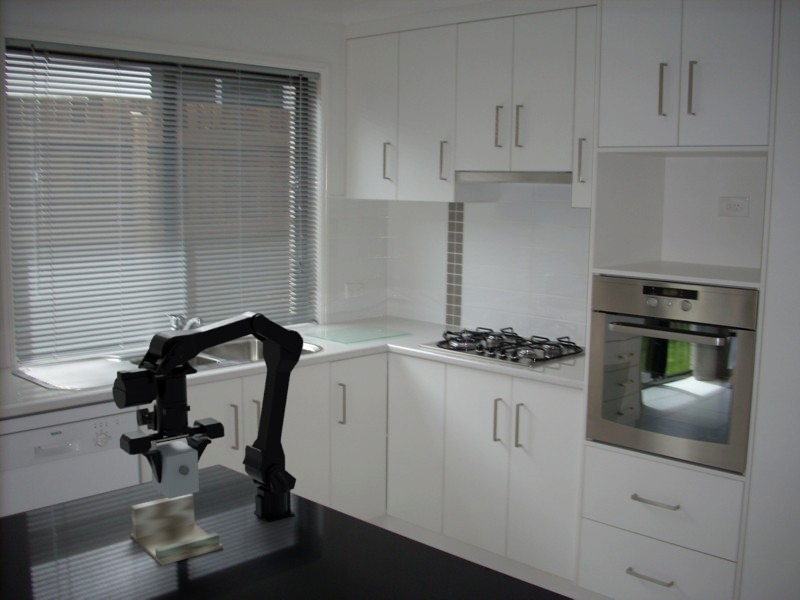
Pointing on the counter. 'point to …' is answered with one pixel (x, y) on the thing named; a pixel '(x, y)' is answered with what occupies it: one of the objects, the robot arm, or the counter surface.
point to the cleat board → (171, 530)
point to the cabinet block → (177, 470)
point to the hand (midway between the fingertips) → (175, 478)
